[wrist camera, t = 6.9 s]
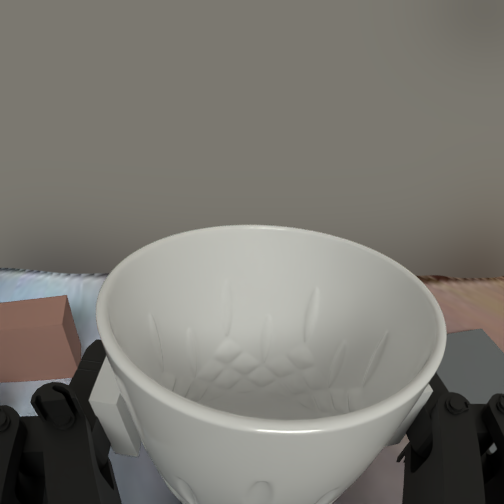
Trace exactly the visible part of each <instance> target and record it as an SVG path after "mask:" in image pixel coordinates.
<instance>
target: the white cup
mask: <svg viewBox="0 0 504 504" xmlns="http://www.w3.org/2000/svg"><path fill="white" fill-rule="evenodd" d="M96 322H97V327H98V331H99V335H100V338H101V341H102V344H103V347H104V350H105V353H106V355H107V358H108V361H109V364H110V367H111V369H112V372H113V375H114V377H115V380H116V382H117V385H118V388H119V390H120V393H121V395H122V397H123V400H124V402H125V404H126V406H127V409H128V411H129V413H130V416H131V418H132V420H133V423H134V425H135V427H136V429H137V432H138V434H139V436H140V439H141V441H142V443H143V445H144V448H145V449H146V451H147V453H148V455H149V457H150V458H151V460H152V462H153V463H154V465H155V466H156V468H157V470H158V472H159V474H160V475H161V477H162V478H163V480H164V481H165V483H166V485H167V486H168V488H169V490H170V491H171V492H172V493H173V495H174V496H175V497H176V498H177V499H179V500H180V502H181V504H332V503H333V502H334V501H335V500H336V499H338V498H339V497H340V496H341V495H342V494H343V493H344V492H345V491H346V490H347V489H348V488H349V487H350V486H351V485H352V484H353V483H354V482H355V481H356V480H357V479H358V478H359V477H360V476H361V475H362V474H363V473H364V472H365V470H366V469H367V468H368V467H369V466H370V464H371V463H372V462H373V461H374V460H375V458H376V457H377V456H378V455H379V453H380V452H381V451H382V450H383V448H384V447H385V446H386V444H387V443H388V442H389V441H390V439H391V438H392V437H393V435H394V434H395V433H396V431H397V430H398V428H399V427H400V426H401V424H402V423H403V421H404V420H405V419H406V417H407V416H408V414H409V413H410V411H411V410H412V409H413V407H414V406H415V404H416V403H417V401H418V400H419V398H420V396H421V395H422V393H423V392H424V390H425V389H426V387H427V386H428V384H429V382H430V381H431V379H432V377H433V376H434V374H435V372H436V371H437V369H438V367H439V365H440V363H441V361H442V358H443V355H444V352H445V347H446V340H447V331H446V323H445V319H444V316H443V313H442V310H441V308H440V306H439V304H438V302H437V300H436V299H435V297H434V296H433V294H432V293H431V292H430V290H429V289H428V288H427V287H426V286H425V285H424V283H423V282H422V281H421V280H420V279H418V278H417V277H416V276H415V275H414V274H413V273H411V272H410V271H409V270H408V269H406V268H405V267H403V266H402V265H401V264H399V263H397V262H396V261H394V260H393V259H391V258H389V257H387V256H385V255H383V254H382V253H379V252H377V251H375V250H373V249H370V248H368V247H366V246H364V245H361V244H358V243H355V242H353V241H350V240H347V239H343V238H340V237H337V236H333V235H329V234H325V233H321V232H316V231H311V230H306V229H299V228H292V227H283V226H272V225H228V226H216V227H209V228H202V229H196V230H191V231H187V232H182V233H178V234H175V235H171V236H168V237H165V238H163V239H160V240H157V241H155V242H152V243H150V244H148V245H146V246H144V247H142V248H140V249H138V250H137V251H135V252H133V253H132V254H130V255H129V256H128V257H126V258H125V259H124V260H122V261H121V262H120V263H119V264H118V265H117V266H116V267H115V268H114V269H113V270H112V271H111V272H110V274H109V275H108V276H107V278H106V279H105V281H104V283H103V285H102V287H101V289H100V291H99V294H98V298H97V303H96Z"/></svg>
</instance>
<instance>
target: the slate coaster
mask: <svg viewBox="0 0 504 504" xmlns="http://www.w3.org/2000/svg"><path fill="white" fill-rule="evenodd" d="M436 373H437V374H438V376H439V377H440V379H441V380H442V382H443V383H444V385H445V386H446V388H447V389H448V391H449V392H455V393H459V394H461V395H462V396H464V397H465V398H466V399H467V400H468V401H469V402H470V404H487V402H488V401H489V400H490V398H491V397H492V395H494V394H496V393H502V394H504V353H503V352H502V351H501V350H500V349H499V347H498V346H497V345H496V344H495V343H494V342H493V341H492V340H491V338H490V337H489V336H488V335H487V334H486V333H485V332H484V331H483V330H482V329H476V330H470V331H464V332H458V333H451V334H447V340H446V347H445V352H444V355H443V358H442V361H441V363H440V365H439V367H438V369H437V371H436ZM489 450H490V452H491V453H494V452H495V451H496V450H497V448H496V446H495V444H493V445H492V446H491V447H490V448H489Z"/></svg>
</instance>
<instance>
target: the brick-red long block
mask: <svg viewBox="0 0 504 504" xmlns="http://www.w3.org/2000/svg"><path fill="white" fill-rule="evenodd" d="M80 361H81V343H80V340H79V337H78V334H77V330H76V327H75V324H74V320H73V317H72V313H71V309H70V305H69V302H68V298H67V295H63V296H55V297H47V298H38V299H30V300H21V301H12V302H4V303H0V382H23V381H38V380H51V379H63V378H73V376H74V374H75V371H76V370H77V367H78V365H79V363H80Z"/></svg>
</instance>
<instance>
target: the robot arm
mask: <svg viewBox="0 0 504 504" xmlns="http://www.w3.org/2000/svg"><path fill="white" fill-rule="evenodd" d="M30 403H31V404H32V406H33V408H34V409H35V411H36V413H37V414H38V416H26V417H20V416H19V414H18V413H17V412H16V411H15V410H14V409H13V408H12V407H9V406H7V405H4V406H0V504H122V503H121V499H120V496H119V492H118V488H117V485H116V481H115V477H114V473H113V469H112V465H111V462H110V459H109V457H108V454H109V449H110V445H111V447H112V449H113V451H114V452H115V454H121V455H127V456H134V457H138V456H139V451H140V445H141V439H140V436H139V434H138V432H137V429H136V427H135V425H134V423H133V420H132V418H131V416H130V413H129V411H128V409H127V406H126V404H125V402H124V400H123V397H122V395H121V393H120V390H119V388H118V385H117V382H116V380H115V377H114V375H113V372H112V369H111V367H110V364H109V361H108V358H107V355H106V353H105V350H104V347H103V344H102V341H101V340H95V341H94V342H93V343H92V344H91V345H90V346H89V347H88V348H87V349H86V351H85V353H84V355H83V357H82V361H80V363H79V365H78V367H77V370H76V371H75V374H74V376H73V378H72V380H71V382H70V384H69V386H68V385H66V384H63V383H59V382H52V383H48V384H44V385H43V386H41V387H40V388H38V389H37V390H36V391H35V393H34V394H33V395H32V399H31V402H30ZM405 434H406V435H407V437H408V439H409V441H410V442H409V443H408V444H407V446H406V447H405V448H404V449H403V451H402V452H401V453H400V455H399V456H398V458H397V461H396V462H400V461H401V459H402V458H403V457H404V456H405V460H404V462H403V463H405V469H404V488H403V501H402V504H504V394H502V393H496V394H494V395H492V397H491V398H490V400H489V401H488V402H487V404H470V402H469V401H468V400H467V399H466V398H465V397H464V396H462V395H461V394H459V393H455V392H449V391H448V389H447V388H446V386H445V385H444V383H443V382H442V380H441V379H440V377H439V376H438V374H437V373H436V372H435V374H434V376H433V377H432V379H431V381H430V382H429V384H428V386H427V387H426V389H425V390H424V392H423V393H422V395H421V396H420V398H419V400H418V401H417V403H416V404H415V406H414V407H413V409H412V410H411V411H410V413H409V414H408V416H407V417H406V419H405V420H404V421H403V423H402V424H401V426H400V427H399V428H398V430H397V431H396V433H395V434H394V435H393V437H392V438H391V439H390V441H389V442H388V443H387V444H386V446H390V445H394V444H398V443H400V441H401V440H402V438H403V437H404V436H405ZM493 444H495V446H496V448H497V450H496V451H495V452H494V453H491V452H490V450H489V448H490V447H491V446H492V445H493ZM386 446H385V447H386Z"/></svg>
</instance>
